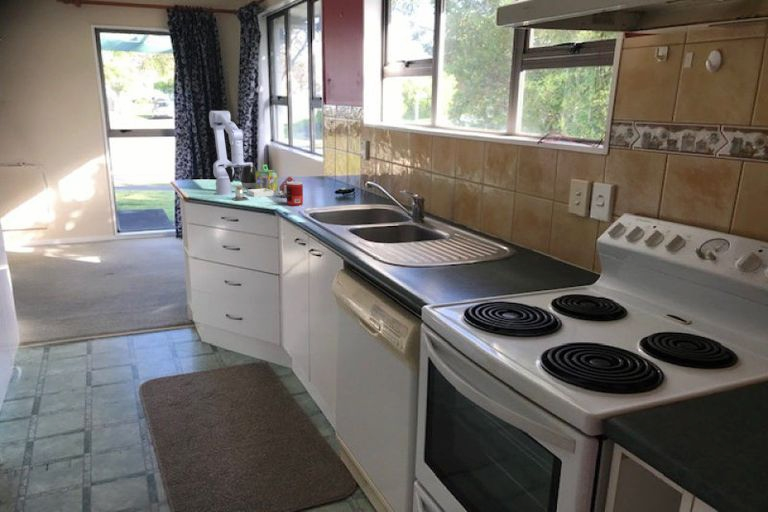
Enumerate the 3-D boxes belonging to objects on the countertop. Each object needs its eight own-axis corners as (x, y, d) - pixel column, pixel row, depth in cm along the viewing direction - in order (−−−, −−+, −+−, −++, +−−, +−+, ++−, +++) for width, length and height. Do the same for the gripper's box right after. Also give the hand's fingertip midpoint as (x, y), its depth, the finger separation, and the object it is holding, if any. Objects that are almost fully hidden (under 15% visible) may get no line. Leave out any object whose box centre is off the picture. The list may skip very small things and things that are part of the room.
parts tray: (246, 195, 311) (246, 189, 311) (266, 193, 317) (265, 188, 317) (254, 198, 303) (254, 192, 302) (274, 196, 308) (273, 190, 308)
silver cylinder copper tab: (234, 199, 294) (233, 186, 293) (242, 198, 297) (241, 186, 295) (237, 200, 291) (236, 187, 289) (245, 199, 293) (244, 187, 291)
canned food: (305, 204, 286) (305, 181, 284) (298, 206, 279) (297, 183, 276) (291, 203, 289) (291, 181, 286) (284, 205, 281) (283, 183, 279)
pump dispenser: (262, 187, 340) (261, 161, 336) (250, 189, 331) (248, 163, 327) (250, 186, 345) (249, 160, 341) (237, 188, 337) (235, 161, 333)
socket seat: (229, 200, 295) (229, 197, 295) (244, 199, 299) (244, 196, 299) (234, 202, 288) (234, 199, 288) (250, 201, 293) (250, 198, 292)
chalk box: (269, 192, 322) (268, 165, 318) (255, 191, 325) (254, 165, 321) (278, 190, 330) (277, 164, 326) (264, 189, 333) (263, 163, 329)
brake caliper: (303, 191, 312) (299, 174, 303) (299, 206, 305) (295, 190, 296) (283, 190, 313) (278, 174, 304) (279, 205, 307) (274, 189, 297)
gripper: (225, 155, 281) (227, 183, 284) (254, 154, 289) (255, 181, 292) (221, 154, 286) (222, 181, 290) (249, 153, 294) (250, 180, 298)
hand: (238, 181), depth 291 cm, fingers open, 7 cm apart
